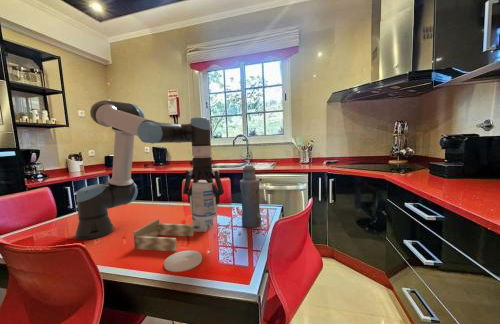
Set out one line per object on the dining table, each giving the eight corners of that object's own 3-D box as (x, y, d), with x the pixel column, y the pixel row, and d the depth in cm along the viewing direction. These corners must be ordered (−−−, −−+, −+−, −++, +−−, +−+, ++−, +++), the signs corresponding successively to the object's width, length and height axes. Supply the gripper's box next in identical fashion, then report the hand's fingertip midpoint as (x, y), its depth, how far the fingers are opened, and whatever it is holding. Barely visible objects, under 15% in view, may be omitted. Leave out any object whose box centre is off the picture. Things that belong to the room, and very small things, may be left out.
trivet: (156, 270, 74) (155, 268, 74) (176, 251, 87) (176, 249, 87) (191, 273, 71) (191, 271, 71) (207, 253, 84) (207, 251, 84)
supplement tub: (208, 222, 85) (206, 184, 84) (188, 219, 89) (186, 183, 88) (220, 214, 94) (219, 180, 93) (202, 212, 98) (200, 179, 97)
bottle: (258, 228, 106) (255, 166, 104) (239, 227, 110) (236, 166, 107) (263, 221, 115) (261, 164, 113) (245, 220, 118) (243, 164, 116)
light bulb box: (205, 232, 104) (204, 210, 104) (192, 231, 106) (191, 209, 105) (213, 224, 115) (212, 203, 114) (201, 223, 116) (200, 203, 115)
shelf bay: (134, 248, 90) (133, 232, 90) (157, 233, 105) (156, 219, 105) (175, 251, 87) (174, 234, 86) (193, 235, 102) (192, 220, 101)
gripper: (171, 157, 87) (174, 212, 90) (225, 157, 83) (227, 215, 85) (181, 156, 95) (184, 207, 97) (231, 155, 90) (232, 209, 92)
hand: (204, 211), depth 91 cm, fingers closed on supplement tub, 9 cm apart
